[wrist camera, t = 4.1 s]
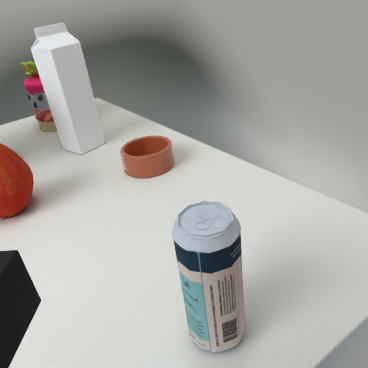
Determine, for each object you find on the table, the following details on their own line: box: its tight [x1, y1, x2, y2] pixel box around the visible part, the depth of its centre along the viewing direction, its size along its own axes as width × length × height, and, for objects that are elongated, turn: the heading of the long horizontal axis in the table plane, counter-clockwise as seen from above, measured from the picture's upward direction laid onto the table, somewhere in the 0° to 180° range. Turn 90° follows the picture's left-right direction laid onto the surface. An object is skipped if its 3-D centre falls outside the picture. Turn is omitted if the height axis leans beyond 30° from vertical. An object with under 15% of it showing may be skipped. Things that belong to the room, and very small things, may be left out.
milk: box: [31, 22, 105, 155], centre depth 63 cm, size 6×6×22 cm
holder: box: [120, 136, 174, 178], centre depth 57 cm, size 8×8×4 cm
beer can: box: [172, 201, 245, 352], centre depth 27 cm, size 5×5×12 cm
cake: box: [21, 61, 57, 132], centre depth 78 cm, size 10×11×15 cm
